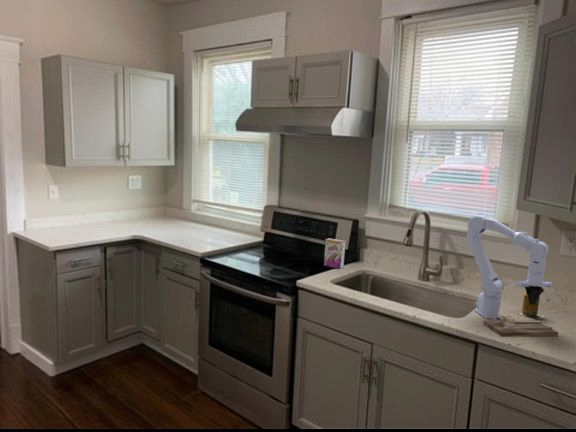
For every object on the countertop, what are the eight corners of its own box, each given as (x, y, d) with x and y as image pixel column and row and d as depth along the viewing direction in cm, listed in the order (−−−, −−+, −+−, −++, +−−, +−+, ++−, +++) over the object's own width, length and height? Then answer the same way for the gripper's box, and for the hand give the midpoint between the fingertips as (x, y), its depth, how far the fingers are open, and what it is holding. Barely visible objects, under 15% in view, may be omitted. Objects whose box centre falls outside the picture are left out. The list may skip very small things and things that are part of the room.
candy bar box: (323, 266, 261) (325, 239, 259) (326, 264, 265) (328, 237, 263) (340, 269, 256) (342, 241, 253) (343, 267, 260) (345, 240, 258)
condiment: (523, 311, 199) (526, 285, 198) (544, 316, 194) (547, 290, 192) (518, 314, 194) (522, 288, 192) (539, 320, 188) (543, 293, 187)
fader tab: (499, 323, 177) (501, 314, 176) (506, 323, 177) (507, 314, 177) (506, 328, 172) (507, 318, 172) (513, 328, 173) (514, 318, 172)
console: (483, 324, 180) (484, 318, 180) (536, 324, 183) (537, 318, 183) (501, 336, 168) (501, 330, 168) (557, 335, 172) (558, 330, 171)
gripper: (526, 274, 173) (522, 307, 174) (559, 274, 175) (555, 307, 176) (515, 269, 179) (510, 301, 181) (547, 270, 181) (542, 301, 183)
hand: (531, 304), depth 179 cm, fingers closed
